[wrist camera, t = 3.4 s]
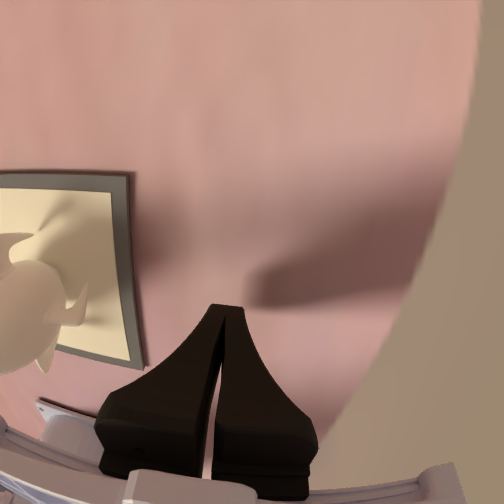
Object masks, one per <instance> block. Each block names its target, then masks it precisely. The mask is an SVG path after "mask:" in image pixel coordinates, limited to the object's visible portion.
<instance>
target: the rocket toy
mask: <svg viewBox="0 0 504 504" xmlns="http://www.w3.org/2000/svg"><path fill="white" fill-rule="evenodd" d="M32 236H34V234H33V233H26V232H17V233H1V234H0V376H2V375H5V374H8V373H11V372H14V371H16V370H19V369H21V368H23V367H24V366H26V365H28V364H30V363H31V362H33V361H34V360H35V361H36V362H37V364H38V366H39V368H40V369H41V371H42V372H43V373H46V372H47V371H48V370H49V367H50V364H51V361H52V358H53V355H54V351H55V348H56V344H57V341H58V337H59V333H60V330H61V326H68V327H78V326H80V325H81V324H82V323H83V321H84V318H85V313H86V307H87V299H88V284H86V285H85V286H84V288H83V290H82V292H81V294H80V296H79V298H78V300H77V301H76V303H75V304H74V305H73V306H72V307H70V308H68V309H66V295H65V291H64V288H63V283H62V279H61V277H60V275H59V273H58V272H57V270H56V269H55V268H54V267H52V266H50V265H48V264H44V263H42V262H39V261H36V260H22V261H18V262H15V263H11V262H10V259H9V250H10V248H11V247H12V246H13V245H15V244H16V243H18V242H20V241H23V240H25V239H28V238H30V237H32Z"/></svg>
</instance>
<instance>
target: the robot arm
mask: <svg viewBox="0 0 504 504" xmlns="http://www.w3.org/2000/svg"><path fill="white" fill-rule="evenodd" d="M221 362H222V366H221ZM220 366H221V386H220V392H219V399H218V405H217V411H216V417H215V428H214V449H213V460H212V469H211V472H212V474H211V480H209V479H202V472H203V463H204V454H205V446H206V438H207V430H208V422H209V414H210V408H211V403H212V399H213V395H214V391H215V387H216V383H217V379H218V375H219V371H220ZM35 405H36V406H37V408H38V410H39V411H40V413H41V415H42V416H43V418H44V420H45V421H46V423H47V424H46V426H45V428H44V430H43V432H42V434H41V436H40V439H39V440H38V439H35V438H33V437H31V436H29V435H26V434H24V433H22V432H20V431H18V430H16V429H14V428H12V427H10V426H8V425H7V423H6V421H5V420H4V418H3V417H2V416H1V415H0V484H2V485H3V486H5V487H6V488H8V489H10V490H11V491H13V492H15V493H14V495H13V497H12V494H11V493H9V492H8V491H5V492H0V504H466V501H465V497H464V494H463V490H462V487H461V484H460V481H459V478H458V475H457V472H456V469H455V466H454V463H453V462H449V463H446V464H442V465H438V466H433V467H431V468H428V469H426V470H425V471H423V472H422V473H421V474H420V475H419V476H418V477H416V478H412V479H407V480H401V481H396V482H390V483H384V484H377V485H369V486H361V487H352V488H341V489H328V490H309V483H308V477H309V476H310V466H309V465H310V463H311V462H312V460H313V459H314V457H315V456H316V454H317V452H318V449H319V448H318V440H317V436H316V433H315V430H314V427H313V424H312V422H311V419H310V418H309V417H308V416H307V415H305V414H304V413H303V412H302V411H301V410H300V409H299V408H298V407H297V406H296V405H295V404H294V403H293V402H292V401H291V400H290V399H289V398H288V397H287V396H286V394H285V393H284V392H283V391H282V389H281V388H280V387H279V386H278V384H277V383H276V382H275V381H274V379H273V378H272V376H271V375H270V373H269V372H268V370H267V368H266V367H265V365H264V363H263V362H262V360H261V358H260V356H259V354H258V352H257V350H256V347H255V345H254V343H253V340H252V338H251V335H250V332H249V330H248V326H247V323H246V319H245V313H244V309H243V308H242V307H238V306H229V305H220V304H211V305H210V306H209V308H208V310H207V312H206V313H205V315H204V316H203V318H202V319H201V321H200V322H199V324H198V325H197V326H196V327H195V329H194V330H193V331H192V333H191V334H190V335H189V336H188V337H187V338H186V339H185V341H184V342H183V343H182V344H181V345H180V346H179V347H178V348H177V349H176V350H175V351H174V352H173V353H172V354H171V355H170V356H169V357H167V358H166V359H165V360H164V361H163V362H161V363H160V364H159V365H158V366H156V367H155V368H154V369H152V370H151V371H149V372H148V373H146V374H145V375H143V376H142V377H140V378H138V379H137V380H135V381H134V382H132V383H130V384H128V385H126V386H124V387H122V388H120V389H118V390H116V391H113V392H111V393H110V394H109V395H108V397H107V398H106V400H105V402H104V403H103V405H102V407H101V409H100V411H99V413H98V416H97V418H92V417H89V416H85V415H82V414H79V413H76V412H73V411H70V410H67V409H64V408H61V407H58V406H55V405H53V404H50V403H47V402H44V401H42V400H39V399H36V401H35ZM11 497H12V499H11Z"/></svg>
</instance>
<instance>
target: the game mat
mask: <svg viewBox="0 0 504 504" xmlns="http://www.w3.org/2000/svg"><path fill="white" fill-rule="evenodd" d="M17 232H26V233H33V234H34V236H32V237H30V238H28V239H25V240H23V241H20V242H18V243H16V244H15V245H13V246H12V247H11V248H10V250H9V259H10V262H11V263H15V262H18V261H22V260H36V261H39V262H42V263H44V264H48V265H50V266H52V267H54V268H55V269H56V270H57V272H58V273H59V275H60V277H61V279H62V283H63V288H64V291H65V295H66V309H68V308H70V307H72V306H73V305H74V304H75V303H76V301H77V300H78V298H79V296H80V294H81V292H82V290H83V288H84V286H85V285H86V284H88V299H87V307H86V313H85V318H84V321H83V323H82V324H81V325H80V326H78V327H68V326H61V330H60V333H59V337H58V341H57V344H56V348H55V350H59V351H62V352H66V353H69V354H73V355H77V356H80V357H84V358H88V359H92V360H96V361H100V362H105V363H109V364H113V365H118V366H122V367H127V368H132V369H137V370H142V371H144V368H145V365H144V359H143V353H142V346H141V339H140V332H139V325H138V317H137V308H136V299H135V290H134V279H133V267H132V254H131V237H130V215H129V175H116V174H91V173H0V234H1V233H17Z"/></svg>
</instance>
